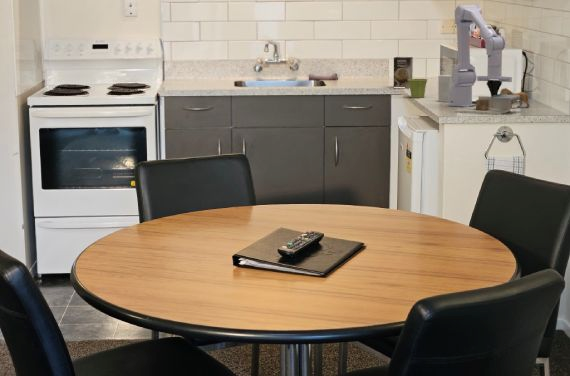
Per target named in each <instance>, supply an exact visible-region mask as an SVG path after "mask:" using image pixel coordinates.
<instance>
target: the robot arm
mask: <svg viewBox="0 0 570 376" xmlns="http://www.w3.org/2000/svg"><path fill="white" fill-rule="evenodd" d="M454 24H455V25H456V37H457V40H456V41H457V42H456V45H457V46H456V47H457V63H456V64H455V66H453V67H452V69H451V75H452V76H451V80H452V83H453V84H454V86H451V88H450V92H449V102H448V103H449V104H448V106H449V107H460V108H463V107H474V106H476V103H473V86H474V85H475V83H476V82H486V86H487V88H488V90H489V93H490V97H491V98H492V96H494V95H497V94H499V91H500V88H501V86H502V84H503V82H507V83H512V81H513V77H512V76H502V70H503V68H502V63H503V61H502V60H503V50H505V47H506V40H505V38H504V36H502V35H499V34H497V32H496V31H495V30H494V28H493V27H492V25H491V24H487V23H486V21H485V18H484V17H483V14H482V8H481V6H480V4H467V5H466V4H464V5H461V4H459V5H457V6H456V7H455V10H454ZM473 24H474V25H475V26H476V28H477V29H479V31H478V32H479V33H478V34H479V35H480V37H481V39H482V40H483V41H484V48H485V50H486V55H487V73H486V74H487V75H477V73H476V67H475V66H474V65H473V64H471V58H470V57H471V55H470V52H471V50H470V49H471V47H470V27H471V25H473Z"/></svg>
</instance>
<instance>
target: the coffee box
mask: <svg viewBox="0 0 570 376" xmlns="http://www.w3.org/2000/svg"><path fill="white" fill-rule="evenodd" d="M413 58H414V57H412V56H411V57H409V56H396V57H393V88H394V87H405V88H410V84H409V81H408V79H413V72H414V70H413V68H414V66H413V63H414V62H413V61H414V59H413Z"/></svg>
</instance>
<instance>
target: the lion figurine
mask: <svg viewBox="0 0 570 376" xmlns="http://www.w3.org/2000/svg"><path fill="white" fill-rule="evenodd" d="M501 93H504V95H520V98H516V99H513V100H511V103H510V110H512V108H513V106H512V104H513V102H515V103H516V102H518V101H519V105H517V106H516V107H517V108H521V107H522V106H523V103H524V104H526V106H525V108H526V109H528V108H529V107H530V106H531V105H530V102H529V97H528V95H527V94H526V93H525V92H522V91H521V92H515V93H514V92H513V91H511V90H510V89H508V88H507V87H503V88H501V89H500V92H499V94H501Z"/></svg>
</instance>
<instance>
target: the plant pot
mask: <svg viewBox="0 0 570 376" xmlns="http://www.w3.org/2000/svg"><path fill="white" fill-rule="evenodd" d="M408 81H409V84H410V96H411V98H413V99H416V98H417V99H422V98H425V93H426V87H427V83H428V78H412V79H408Z"/></svg>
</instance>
